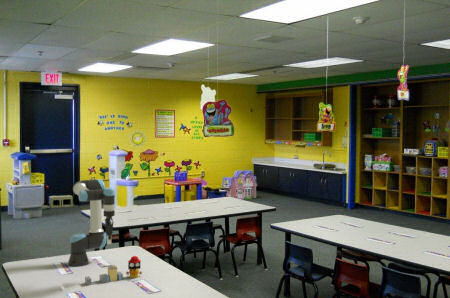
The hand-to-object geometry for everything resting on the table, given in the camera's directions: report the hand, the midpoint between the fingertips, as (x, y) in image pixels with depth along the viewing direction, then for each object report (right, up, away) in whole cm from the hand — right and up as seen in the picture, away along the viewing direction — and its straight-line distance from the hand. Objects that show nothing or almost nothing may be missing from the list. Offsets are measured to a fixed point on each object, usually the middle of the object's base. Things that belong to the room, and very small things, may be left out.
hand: (109, 243), depth 314 cm
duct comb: (-1, -25, -9) cm, 26 cm away
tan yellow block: (+4, -24, -6) cm, 25 cm away
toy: (+17, -25, +4) cm, 30 cm away
